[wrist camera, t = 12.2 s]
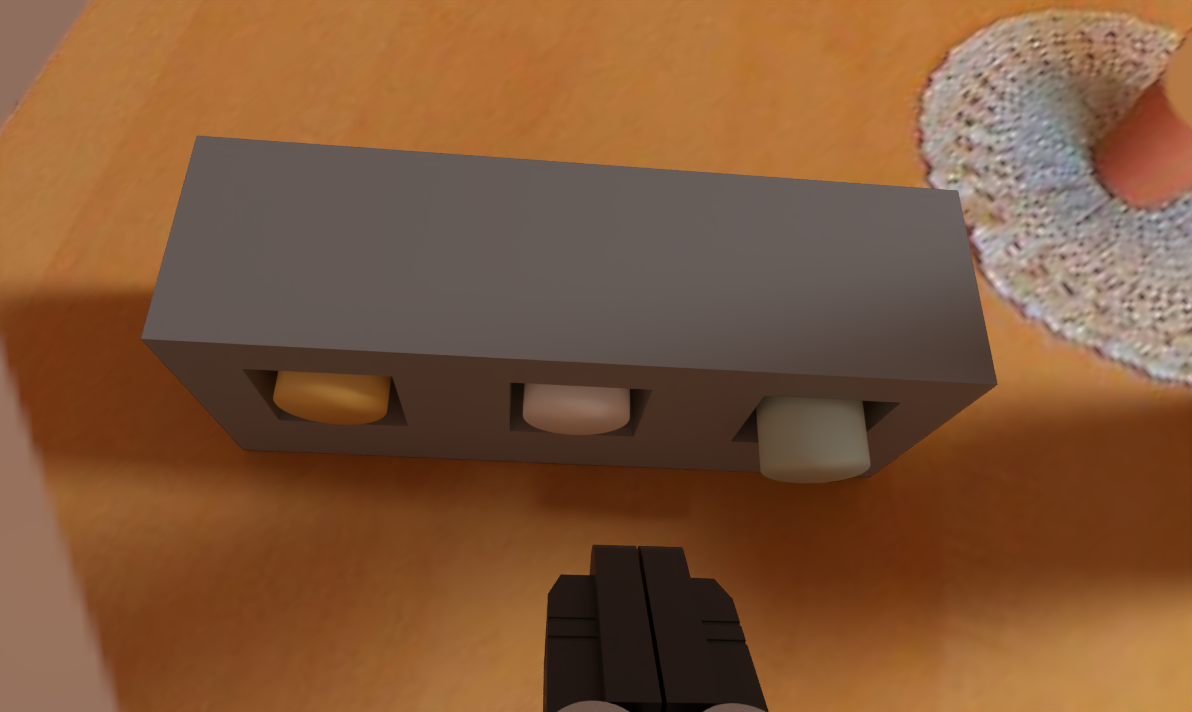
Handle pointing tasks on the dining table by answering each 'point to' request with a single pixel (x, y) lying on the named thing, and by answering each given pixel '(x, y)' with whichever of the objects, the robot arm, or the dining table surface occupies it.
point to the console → (561, 301)
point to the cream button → (576, 408)
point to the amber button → (333, 396)
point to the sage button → (811, 439)
